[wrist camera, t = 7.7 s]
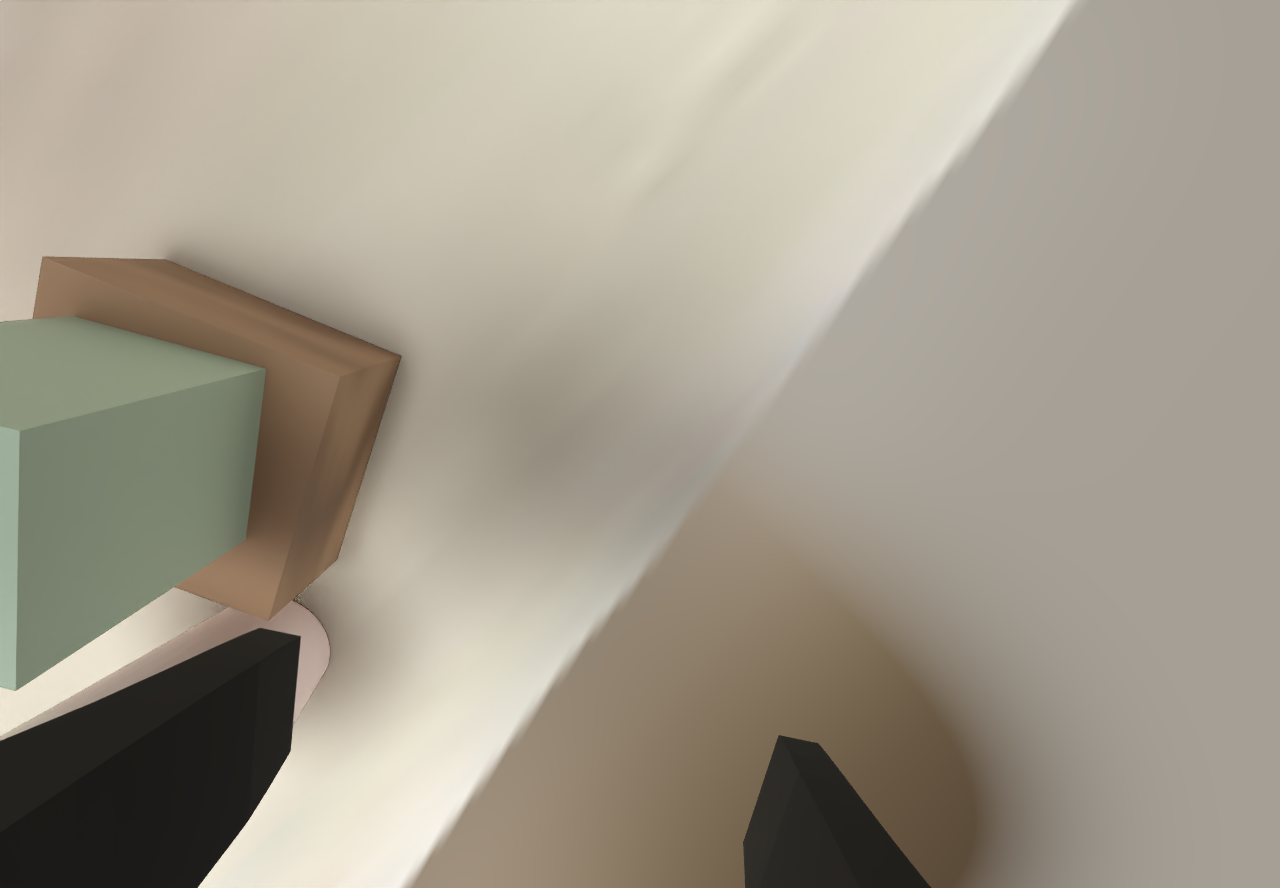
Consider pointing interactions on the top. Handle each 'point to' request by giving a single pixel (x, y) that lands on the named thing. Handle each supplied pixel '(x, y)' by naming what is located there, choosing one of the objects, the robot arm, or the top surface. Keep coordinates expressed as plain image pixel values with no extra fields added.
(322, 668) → the smoothie
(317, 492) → the walnut block
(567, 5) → the top surface
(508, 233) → the top surface
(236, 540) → the sage block
